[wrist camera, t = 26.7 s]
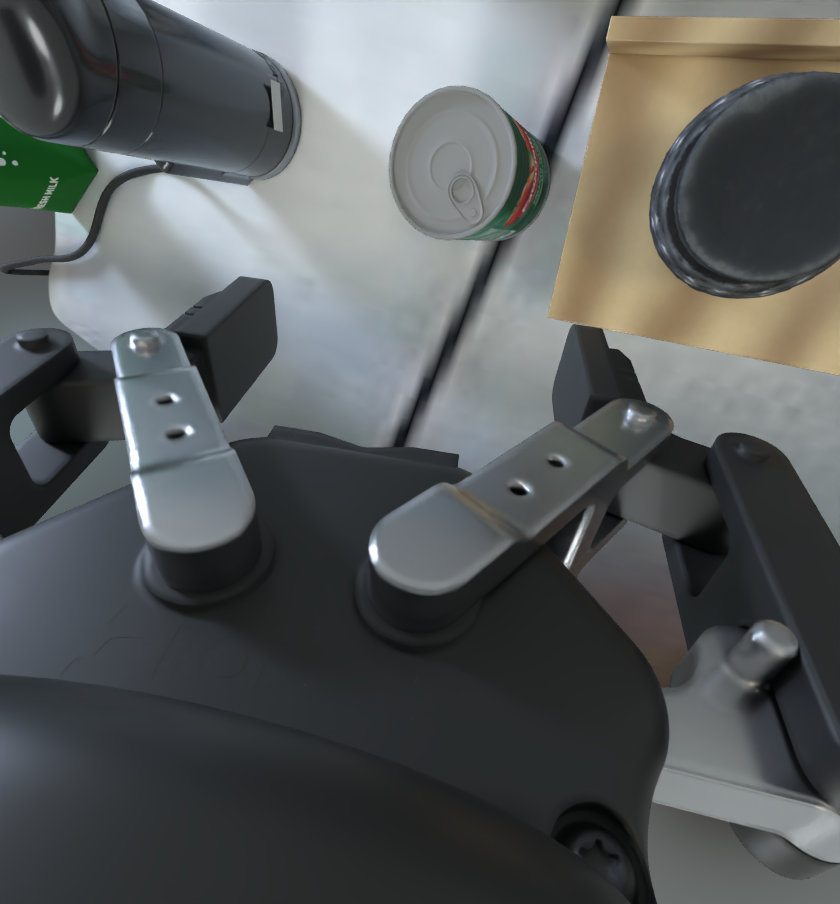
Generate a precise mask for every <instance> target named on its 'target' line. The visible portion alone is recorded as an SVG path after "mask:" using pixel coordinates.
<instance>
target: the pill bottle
mask: <svg viewBox="0 0 840 904" xmlns="http://www.w3.org/2000/svg"><path fill="white" fill-rule="evenodd" d="M650 197H651V200H650V209H649V220H650V225H649V227H650V231H651V235H652V238H653V243H654V245H655V248H656V250H657V253H658V255H659V257H660V258H661V260H662V261H663V262H664V263H665V265H666V266H667V267H668V268H669V269H670V271H671V272H672V273H673V274H674V275H675V276H676V278H678V279H680V280H681V281H683V282H684V283H686V284H687V285H688V286H689V287H691V288H692V289H694V290H696V291H699V292H704V293H707V294H710V295H712V296H718V297H722V298H730V299H733V298H734V299H746V298H747V299H748V298H760V297H765V296H770V295H774V294H777V293H780V292H784V291H788V290H790V289H792V288H793V287H795V286H798V285H801V284H803V283H805V282H807V281H809V280H811V279H813V278H814V277H815V276H817V275H819V274H820V273H822V272H824V271H825V270H826V269H828V268H829V267H831V266H832V265H833V264H834V263H836V262H837V261H838V260H839V259H840V73H835V72H825V71H824V72H818V71H812V72H800V73H798V72H795V73H794V72H789V73H783V74H777V75H774V74H773V75H770V76H767V77H764V78H761V79H758V80H756V81H751V82H749V83H747V84H744V85H742V86H741V87H739V88H737V89H735V90H733V91H731V92H729V93H728V94H726V95H725V96H723V97H721V98H719V99H717V100H715V101H714V102H713V103H712V104H710V105H709V106H707V107H706V108H705V109H703V111H701V112H700V113H699V114H698V115H697V116H696V117H695V118H694V119H693V120H692V121H691V122H690V123H689V124H688V125H687V126H686V127H685V129H684V130H683V131H682V132H681V133H680V134H679V136H678V138H677V139H676V140H675V142H674V143H673V145H672V146H671V147H670V149H669V150H668V152H667V153H666V155H665V158H664V160H663V162H662V164H661V167H660V169H659V171H658V173H657V175H656V178H655V182H654V184H653V187H652V191H651V195H650Z"/></svg>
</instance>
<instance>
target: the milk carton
mask: <svg viewBox="0 0 840 904" xmlns="http://www.w3.org/2000/svg"><path fill="white" fill-rule="evenodd" d="M97 172H98V171H97V169H96V167H95V166H94V164H93V163H92V161H91V160H90V158H89V157H88V155H87V154H86V152H85V150H84V149H83V148H80V147H75V146H69V145H63V144H57V143H51V142H46V141H42V140H38V139H35V138H32V137H30V136H28V135H26V134H24V133H22V132H20V131H18V130H17V129H15V128H14V127H12V126H11V125H10V124H9V123H7V122H6V121H5V120H4V119H3V118H2V117H1V116H0V206H8V207H23V208H32V209H39V210H48V211H54V212H62V213H70V214H71V213H72V211H73V210H74V208H75V207H76V205H77V203H78V202H79V200H80V199H81V197H82V196H83V194H84V192H85V191H86V189H87V188H88V186H89V184H90V183H91V181H92V180H93V178H94V177H95V175H96V173H97Z"/></svg>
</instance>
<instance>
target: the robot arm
mask: <svg viewBox="0 0 840 904" xmlns="http://www.w3.org/2000/svg"><path fill="white" fill-rule="evenodd" d="M0 116H1V117H2V118H3V119H4V120H5V121H6V122H7V123H9V124H10V125H11V126H12V127H14V128H15V129H17V130H18V131H20V132H22V133H24V134H26V135H28V136H30V137H32V138H35V139H38V140H42V141H46V142H51V143H57V144H63V145H69V146H75V147H80V148H86V149H92V150H98V151H103V152H109V153H116V154H122V155H127V156H133V157H139V158H144V159H150V160H154V161H155V162H156V164H157V165H150V166H144V167H139V168H135V169H132V170H129V171H126V172H124V173H122V174H120V175H118V176H117V177H115V178H114V179H113V180H112V181H111V182H110V183H109V184H108V185H107V186H106V188H105V189H104V191H103V192H102V194H101V197H100V199H99V202H98V204H97V208H96V211H95V215H94V219H93V223H92V226H91V230H90V232H89V235H88V237H87V239H86V241H85V243H84V244H83V245H82V246H81V248H79V249H78V250H77V251H75V252H73V253H71V254H67V255H62V256H39V257H34V258H30V259H25V260H19V261H14V262H10V263H6V264H3V265H2V266H0V270H1V272H3V273H6V274H13V275H44V276H46V275H47V276H49V273H50V270H27V269H14V268H19V267H24V266H29V265H34V264H38V263H44V262H69V261H73V260H76V259H78V258H80V257H82V256H83V255H84V254H86V253H87V251H88V250H89V249H90V248H91V247H92V245H93V244H94V242H95V240H96V237H97V235H98V232H99V228H100V225H101V221H102V218H103V214H104V211H105V207H106V205H107V202H108V200H109V198H110V196H111V194H112V193H113V191H114V190H115V189H116V188H117V187H118V186H119V185H121V184H122V183H124V182H126V181H128V180H130V179H132V178H135V177H139V176H143V175H147V174H152V173H159V172H165V173H168V174H174V175H181V176H187V177H194V178H200V179H207V180H214V181H220V182H227V183H233V184H240V185H247V186H248V185H249V184H250V182H251V181H252V180H254V179H258V180H262V179H268V178H271V177H273V176H275V175H277V174H278V173H280V172H281V171H282V170H283V169H284V168H285V167H286V166H287V164H288V163H289V162H290V160H291V158H292V157H293V154H294V152H295V150H296V147H297V144H298V140H299V135H300V125H301V115H300V106H299V101H298V97H297V93H296V90H295V88H294V85H293V83H292V81H291V79H290V77H289V76H288V74H287V73H286V71H285V70H284V69H283V68H282V66H281V65H280V64H279V63H278V62H276V61H275V60H274V59H272V58H270V57H269V56H267V55H265V54H263V53H260V52H258V51H255V50H253V49H252V50H251V49H249V48H247V47H245V46H243V45H241V44H239V43H237V42H235V41H233V40H231V39H229V38H227V37H225V36H223V35H221V34H219V33H217V32H215V31H213V30H211V29H209V28H207V27H205V26H203V25H201V24H199V23H197V22H195V21H193V20H191V19H189V18H187V17H185V16H183V15H181V14H179V13H177V12H175V11H173V10H170V9H168V8H166V7H164V6H162V5H160V4H158V3H156V2H154V1H152V0H0ZM276 348H277V325H276V315H275V304H274V293H273V287H272V284H271V282H270V281H269V280H264V279H257V278H250V277H243V276H240V277H239V278H237V279H236V280H235V281H234V282H232V283H231V284H230V285H229V286H228V287H226V288H225V289H224V290H223V291H222V292H221V291H220V292H217V293H215V294H212V295H209V296H207V297H204V298H203V299H201V300H200V301H199V302H198V303H196V304H195V305H194V307H193V308H190V309H189V310H188V311H186V312H185V314H183V315H182V316H180V317H179V318H178V319H177V320H175V321H174V322H173V323H172V324H170V325H169V326H168V327H167V328H165V329H161V328H142V329H136V330H132V331H128V332H125V333H123V334H121V335H119V336H117V337H116V338H115V339H114V340H113V341H112V342H111V351H77V349H76V346H75V343H74V341H73V338H72V336H71V334H70V333H68V332H67V331H64V330H60V329H54V328H40V329H31V330H25V331H21V332H18V333H15V334H12V335H9V336H7V337H5V338H3V339H2V340H0V904H657V902H656V898H655V894H654V890H653V887H652V883H651V877H650V871H649V864H648V824H649V816H650V809H651V803H652V802H655V803H659V804H663V805H667V806H670V807H674V808H678V809H682V810H686V811H690V812H694V813H698V814H701V815H706V816H709V817H713V818H718V819H721V820H725V821H729V823H730V826H731V827H732V829H733V831H734V833H735V834H736V836H737V838H738V839H739V840H740V842H741V843H742V845H743V846H744V847H745V848H746V849H747V850H748V852H749V853H750V854H751V855H753V857H754V858H756V859H757V860H758V861H759V862H760V863H762V864H763V865H764V866H765V867H767V868H768V869H770V870H771V871H773V872H775V873H777V874H779V875H781V876H784V877H787V878H790V879H797V880H803V879H809V878H811V877H814V876H816V875H818V874H820V873H823V872H825V871H827V870H829V869H831V868H834V867H836V866H838V865H840V546H839V545H838V543H837V541H836V539H835V538H834V536H833V534H832V533H831V531H830V529H829V528H828V526H827V524H826V522H825V521H824V519H823V517H822V516H821V514H820V512H819V511H818V509H817V507H816V505H815V504H814V502H813V500H812V499H811V497H810V495H809V493H808V492H807V490H806V488H805V487H804V485H803V483H802V482H801V480H800V478H799V476H798V475H797V473H796V471H795V470H794V468H793V466H792V464H791V463H790V461H789V460H788V458H787V457H786V456H785V455H784V454H783V453H782V452H781V451H780V450H779V449H777V448H776V447H774V446H773V445H771V444H769V443H768V442H766V441H764V440H761V439H759V438H756V437H754V436H750V435H746V434H742V433H724V434H721V435H719V436H718V437H717V438H716V440H715V442H714V443H713V445H712V447H711V448H709V447H706V446H703V445H700V444H697V443H694V442H691V441H688V440H686V439H683V438H680V437H678V436H676V435H674V434H672V433H671V432H672V430H673V428H674V424H673V421H672V419H671V418H670V417H669V415H668V414H667V413H665V412H664V411H663V410H661V409H660V408H658V407H656V406H654V405H652V404H650V403H647V402H646V399H645V397H644V394H643V392H642V389H641V386H640V384H639V382H638V379H637V376H636V373H634V372H635V371H634V368H633V366H632V363H631V360H629V359H628V358H627V357H626V356H625V355H624V354H623V353H622V352H621V351H620V350H618V349H611V348H609V347H608V344H607V341H606V338H605V335H604V332H603V329H602V328H596V327H589V326H582V325H575V324H573V325H572V326H571V328H570V330H569V333H568V336H567V340H566V343H565V347H564V350H563V353H562V357H561V360H560V364H559V367H558V370H557V374H556V377H555V381H554V386H553V393H552V403H553V411H554V420H555V421H554V422H552V423H550V424H549V425H547V426H546V427H544V428H543V429H541V430H540V431H538V432H537V433H535V434H533V435H532V436H530V437H529V438H527V439H526V440H524V441H523V442H521V443H520V444H518V445H516V446H515V447H513V448H512V449H510V450H509V451H507V452H506V453H504V454H502V455H501V456H499V457H498V458H496V459H495V460H493V461H492V462H490V463H489V464H487V465H485V466H484V467H482V468H481V469H479V470H478V471H476V472H475V473H473V474H472V473H470V472H468V471H466V470H463V469H461V468H458V459H459V455H458V454H452V453H446V452H439V451H433V450H427V449H421V448H414V447H385V448H366V447H360V446H357V445H354V444H351V443H348V442H345V441H343V440H340V439H337V438H334V437H331V436H328V435H325V434H322V433H319V432H313V431H307V430H301V429H294V428H288V427H282V426H274V427H273V429H272V431H271V432H270V434H269V435H268V437H260V438H250V439H243V440H238V441H234V442H230V443H228V441H227V438H226V436H225V434H224V431H223V429H222V427H221V424H220V423H223V421H224V420H225V419H226V418H227V416H228V415H229V414H230V412H231V411H232V410H233V409H234V407H235V406H236V405H237V403H238V402H239V401H240V400H241V398H242V397H243V396H244V394H245V393H246V392H247V391H248V389H249V388H250V387H251V385H252V384H253V383H254V381H255V380H256V379H257V378H258V376H259V375H260V374H261V372H262V371H263V370H264V369H265V367H266V366H267V365H268V363H269V362H270V361H271V360H272V358H273V357H274V355H275V352H276ZM24 408H26V410H27V412H28V414H29V416H30V418H31V421H32V422H33V424H34V427H35V429H36V430H34V432H32V433H31V434H30V435H29V436H28V437H26V438H25V439H24V440H23V441H22V442H21V443H20V444H19V445H17V446H16V447H15V446H14V444H13V442H12V440H11V438H10V425H11V422H12V420H13V419H14V417H15V416H16V415H17V414H18V413H19V412H21V411H22V410H23V409H24ZM114 440H126V445H127V450H128V455H129V460H130V465H131V473H130V478H131V484H129V485H127V486H125V487H122V488H120V489H118V490H115V491H113V492H111V493H108V494H106V495H103V496H101V497H99V498H96V499H94V500H92V501H89V502H87V503H85V504H83V505H80V506H78V507H75V508H73V509H71V510H68V511H66V512H64V513H62V514H59V515H57V516H54V517H52V518H50V519H48V520H45V521H43V522H40V523H38V524H36V525H35V523H36V522H37V521H38V520H39V519H40V518H41V517H42V516H43V515H44V513H46V511H47V510H48V509H49V508H50V507H51V506H52V505H53V504H54V503H55V502H56V500H57V499H58V498H59V497H60V496H61V495H62V494H63V493H64V492H65V491H66V490H67V488H68V487H69V486H70V485H71V484H72V483H73V482H74V481H75V480H76V479H77V478H78V476H79V475H80V474H81V473H82V472H83V471H84V470H85V469H86V468H87V467H88V465H89V464H90V463H91V462H92V461H93V460H94V459H95V458H96V457H97V456H98V455H99V453H100V452H101V451H102V450H103V449H104V448H105V447H106V445H107V444H108V441H114ZM628 520H629V521H631V522H634V523H636V524H639V525H642V526H644V527H647V528H649V529H652V530H654V531H657V532H659V533H662V539H663V544H664V548H665V552H666V557H667V561H668V566H669V570H670V574H671V579H672V583H673V587H674V592H675V596H676V600H677V605H678V609H679V614H680V618H681V622H682V627H683V631H684V635H685V640H686V644H687V648H688V652H687V654H686V655H685V656H684V657H683V659H682V660H681V661H680V662H679V664H678V665H677V666H676V668H675V669H674V670H673V672H672V674H671V676H670V682H669V684H670V688H661V686H660V683H659V681H658V679H657V677H656V675H655V673H654V671H653V669H652V667H651V666H650V664H649V662H648V661H647V659H646V658H645V656H644V655H643V653H642V652H641V651H640V650H639V648H638V647H637V646H636V645H635V643H634V642H633V641H632V640H631V639H630V638H629V637H628V636H627V634H626V633H625V632H624V631H623V630H622V629H621V628H620V627H619V625H618V624H617V623H616V622H615V621H614V620H613V619H612V618H611V616H610V615H609V614H608V613H607V612H606V611H605V610H604V609H603V607H602V606H601V605H600V604H599V603H598V602H597V601H596V600H595V598H594V597H593V596H592V595H591V594H590V593H589V592H588V591H587V590H586V588H585V587H584V586H583V585H582V584H581V583H580V582H579V581H578V579H577V578H576V577H577V576H578V574H579V573H580V571H581V570H582V569H583V567H584V566H585V565H586V564H587V563H588V562H589V561H590V560H591V559H592V558H593V556H594V555H595V554H596V553H597V552H598V551H599V550H600V549H601V548H602V547H603V546H604V545H605V544H606V543H607V542H608V541H609V540H610V539H611V538H612V537H613V536H614V535H615V534H616V533H617V532H618V531H619V530H620V529H621V528H622V527H623V526H624V525H625V524H626V523H627V521H628Z"/></svg>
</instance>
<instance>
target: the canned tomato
mask: <svg viewBox="0 0 840 904" xmlns="http://www.w3.org/2000/svg"><path fill="white" fill-rule="evenodd" d="M389 177H390V186H391V189H392V193H393V197H394V199H395V202H396V204H397V206H398V208H399V210H400V212H401V213H402V214H403V216H404V217H405V219H406V220H407V221H408V222H409V223H410V224H411V225H412V226H413V227H414V228H415V229H417V230H418V231H420V232H422V233H423V234H425V235H427V236H430V237H433V238H436V239H443V240H454V239H455V240H490V241H499V240H505V239H508V238H511V237H514V236H516V235H518V234H519V233H521V232H523V231H524V230H525V229H526V228H527V227H529V226H530V225H531V224H532V223H533V222H534V220H535V219H536V218H537V217H538V215H539V213H540V212H541V210H542V208H543V206H544V204H545V201H546V198H547V196H548V191H549V185H550V169H549V163H548V159H547V156H546V154H545V151H544V149H543V147H542V146H541V144H540V143H539V141H538V140H537V139H536V138H535V137H534V136H533V135H532V134H531V133H530V132H528V131H527V130H526V129H524V128H523V127H522V126H521V125H520V124H519V123H518V122H517V121H516V120H514V119H513V118H512V117H511V116H510V115H509V114H508V113H507V112H506V111H504V110H503V109H502V108H501V107H500V105H499V104H497V103H496V102H495V101H494V100H493V99H492V98H491V97H490V96H489V95H487V94H485V93H483V92H481V91H480V90H478V89H474V88H470V87H467V86H448V87H444V88H440V89H437V90H435V91H433V92H431V93H429V94H427V95H426V96H424V97H423V98H422V99H421V100H419V101H418V102H417V103H416V104H415V105H414V106H413V107H412V108H411V109H410V110H409V112H408V113H407V114H406V115H405V117H404V119H403V120H402V122H401V124H400V125H399V127H398V129H397V132H396V134H395V137H394V140H393V143H392V147H391V152H390V159H389Z"/></svg>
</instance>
